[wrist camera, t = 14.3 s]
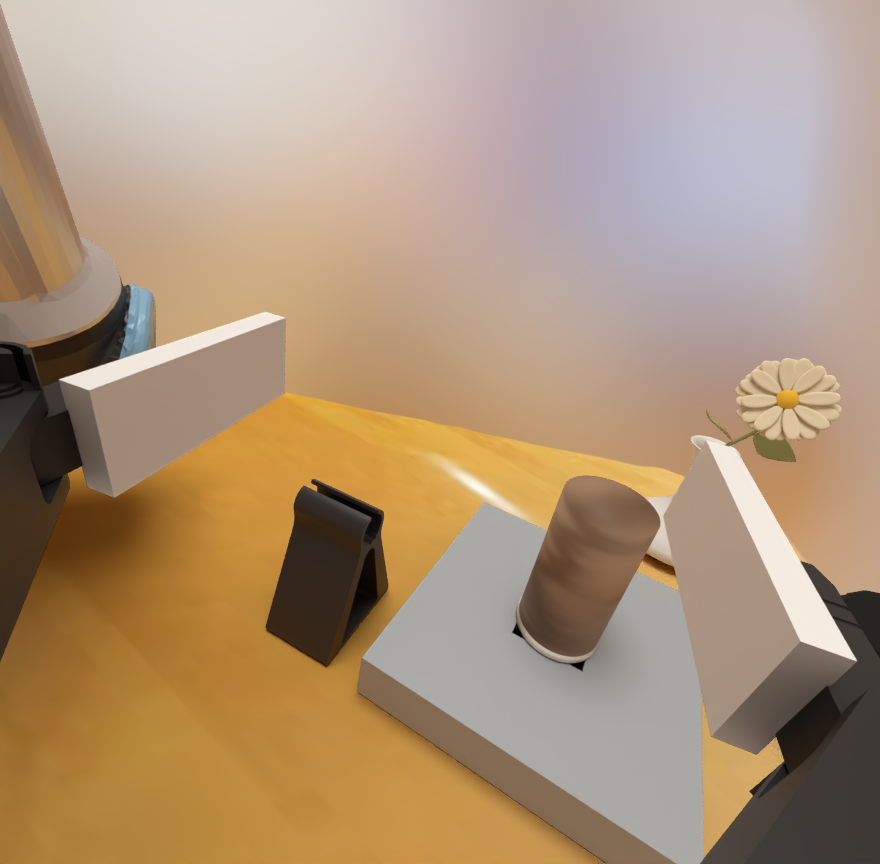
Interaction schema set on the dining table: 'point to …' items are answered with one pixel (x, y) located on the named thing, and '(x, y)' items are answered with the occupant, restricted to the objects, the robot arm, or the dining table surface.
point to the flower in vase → (769, 420)
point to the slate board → (552, 699)
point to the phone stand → (328, 571)
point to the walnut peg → (584, 566)
